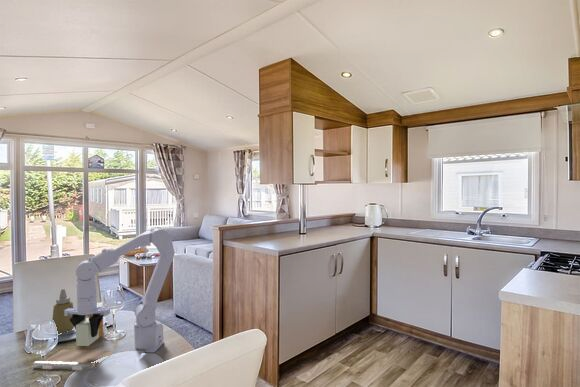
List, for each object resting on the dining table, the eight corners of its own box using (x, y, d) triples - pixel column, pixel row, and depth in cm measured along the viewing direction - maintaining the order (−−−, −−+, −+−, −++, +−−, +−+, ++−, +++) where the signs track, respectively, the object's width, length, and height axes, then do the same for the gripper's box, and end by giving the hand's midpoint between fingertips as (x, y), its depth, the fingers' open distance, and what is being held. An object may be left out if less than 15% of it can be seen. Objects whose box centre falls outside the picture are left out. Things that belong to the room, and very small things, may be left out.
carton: (98, 337, 116) (98, 317, 116) (88, 345, 110) (87, 325, 110) (87, 337, 116) (87, 318, 116) (76, 345, 110) (75, 325, 110)
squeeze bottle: (66, 337, 131) (65, 292, 131) (46, 337, 131) (45, 292, 131) (80, 328, 139) (79, 286, 139) (61, 329, 139) (60, 286, 139)
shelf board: (115, 354, 117) (115, 346, 117) (91, 374, 104) (91, 365, 104) (62, 352, 119) (62, 345, 118) (32, 372, 106) (32, 363, 106)
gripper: (114, 292, 117) (115, 330, 117) (73, 292, 117) (74, 331, 117) (102, 299, 110) (103, 339, 110) (59, 299, 110) (60, 340, 110)
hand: (87, 335), depth 113 cm, fingers closed on carton, 4 cm apart
